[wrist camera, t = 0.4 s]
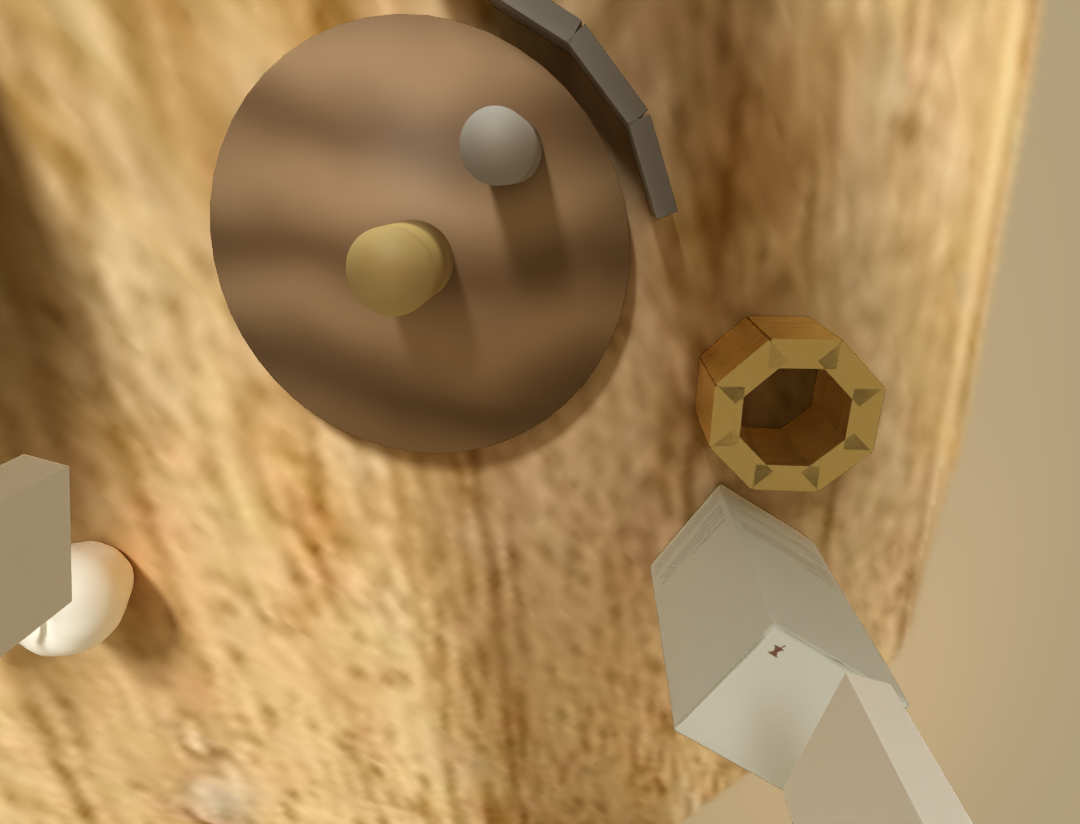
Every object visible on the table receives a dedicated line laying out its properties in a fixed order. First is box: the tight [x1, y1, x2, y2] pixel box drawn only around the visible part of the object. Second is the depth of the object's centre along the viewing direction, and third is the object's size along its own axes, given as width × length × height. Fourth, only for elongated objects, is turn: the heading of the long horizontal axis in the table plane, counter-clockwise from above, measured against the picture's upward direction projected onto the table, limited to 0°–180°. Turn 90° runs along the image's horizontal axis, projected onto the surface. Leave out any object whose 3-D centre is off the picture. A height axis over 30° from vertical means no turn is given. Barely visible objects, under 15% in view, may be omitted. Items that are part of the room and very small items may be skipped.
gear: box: [695, 316, 885, 492], centre depth 32 cm, size 8×8×5 cm
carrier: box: [210, 0, 678, 453], centre depth 30 cm, size 23×24×7 cm
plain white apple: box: [19, 541, 134, 657], centre depth 40 cm, size 7×7×8 cm
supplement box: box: [650, 484, 909, 790], centre depth 33 cm, size 7×7×13 cm
